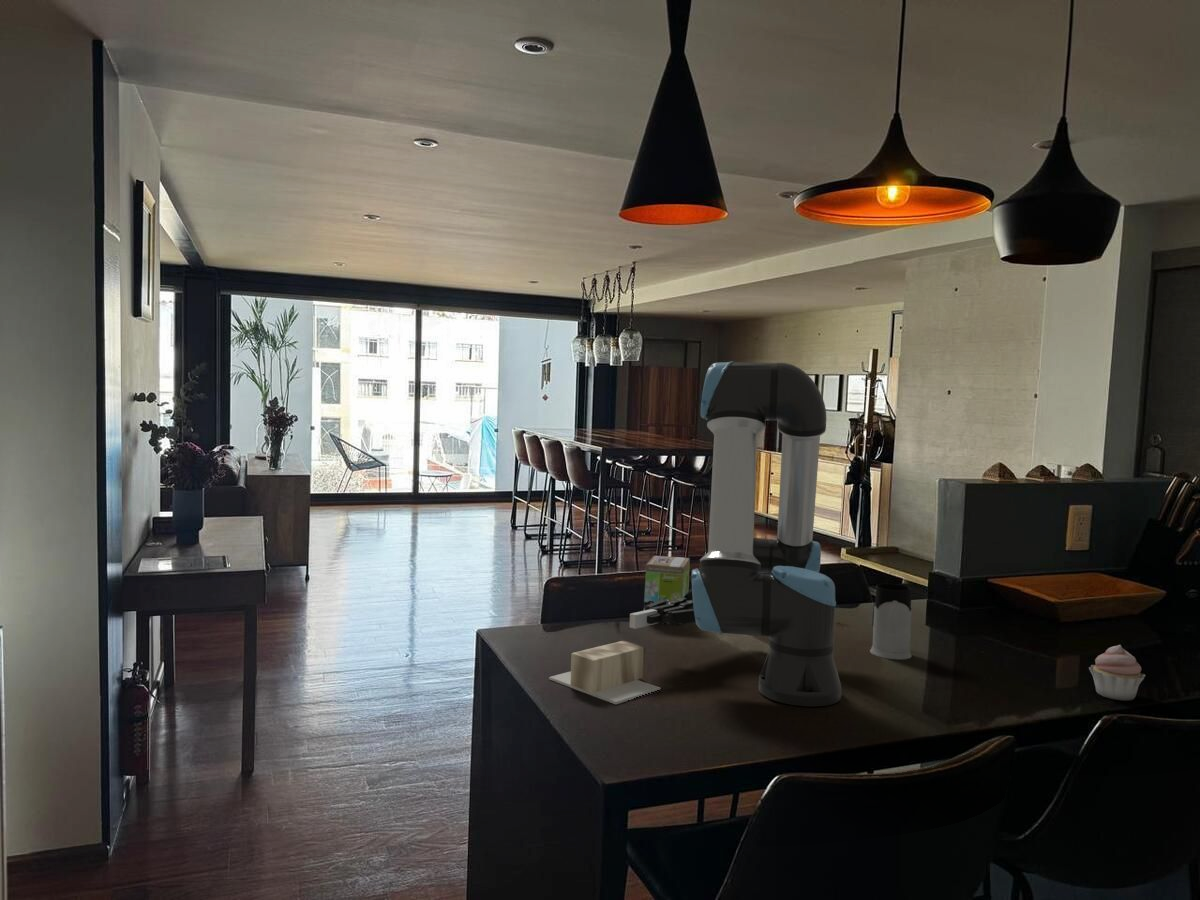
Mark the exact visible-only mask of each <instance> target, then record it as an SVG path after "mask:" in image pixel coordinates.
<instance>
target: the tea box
mask: <svg viewBox="0 0 1200 900" xmlns="http://www.w3.org/2000/svg"><path fill="white" fill-rule="evenodd" d="M690 562H691V559H690V557H681V556H680V557H679V556H677V557H676V556H664V555H653V556H652V558H651V559H650V560H648V562H647V563H646V564H645V581H644V596H643V597H644V598H643V599H644V600H643V611H645V606H647V605H649V604H652V603H655V602H657V601H660V600H661V599H662V598H666V599H667V600H669V602H671V601H675V600H678V599H679V598H684V597H685V595H686V594H687V593H688V592H689V591H690V589H689V587H690V586H689V585H690V567H691V563H690Z"/></svg>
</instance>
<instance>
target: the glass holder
mask: <svg viewBox="0 0 1200 900" xmlns="http://www.w3.org/2000/svg"><path fill="white" fill-rule="evenodd" d="M874 601H875V602H874V607H873V626H872V627H873V630H872V645H871V648H870V650H869V652H870V653H871V654H872V655H874V656H876V657H879V658H883V659H889V660H908V659H911V658H912V653H911V632H912V630H911V627H912V611H913V610H912V587H911V586H908V585H904V584H899V583H878V584H876V585H875V599H874Z"/></svg>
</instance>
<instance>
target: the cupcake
mask: <svg viewBox="0 0 1200 900" xmlns="http://www.w3.org/2000/svg"><path fill="white" fill-rule="evenodd" d="M1094 662H1095V664H1091V665H1090V666H1089V667H1088V670H1089V672H1090V673H1091V675H1092V678H1093V682H1094V686H1095V691H1096V694H1098V695H1100V696H1102V697H1104V698H1108V699H1110V700H1117V701H1133V700H1135V698H1136V696H1137V693H1138V691H1139V686H1140V684H1141V683H1142V681H1144V679H1145V677H1146V674H1145V673H1141V671H1142V667H1141V664H1139V662H1137V659H1136V657H1135V656H1133V655H1132V654H1131V653H1129V651H1127V650H1125V648H1123V647H1122V645H1121V644H1118V645H1114V646H1111V647H1108V648H1107V649H1106V650H1105V652H1104V653H1101V654H1099V655H1097V657H1096V658H1095V659H1094Z"/></svg>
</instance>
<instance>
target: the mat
mask: <svg viewBox="0 0 1200 900" xmlns="http://www.w3.org/2000/svg"><path fill="white" fill-rule="evenodd" d="M548 679H549V681H553V682H554V683H558V684H560V685H563V686H565V687H568V688H571V689H573V690H576V691H579V692H581V693H584V694H587V695H590V696H591V697H594V698H596V699H600V700H602V701H605V702H609V703H611V704H613V705H619V704H622V703H624V702H625V703H626V702H629V701H631V700H634V698H635V699H637V698H636V697H638V698H640V697H639V696H641V697H643V696H642V695H644V696H646V695H645V694H647V695H649V694H648V693H650V694H652V693H651V692H654V691H657V690H660V689H661V687H660V686H656V685H653V684H650V683H649V682H648V683H647V682H645V681H642V680H640V679H638V680H635V681H631V682H628V683H625V684H621V685H618V686H615V687H611V688H608V689H604V690H601V691H598V692H594V693H591V692H589V691H586V690H583V689H581V688H578V687H575V686H573V685H571V670H570V671H567V672H563V673H560V674H559V673H558V674H555V675H552V676H549V678H548ZM660 691H661V690H660ZM657 692H658V691H657ZM654 693H655V692H654ZM628 700H629V701H628Z"/></svg>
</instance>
